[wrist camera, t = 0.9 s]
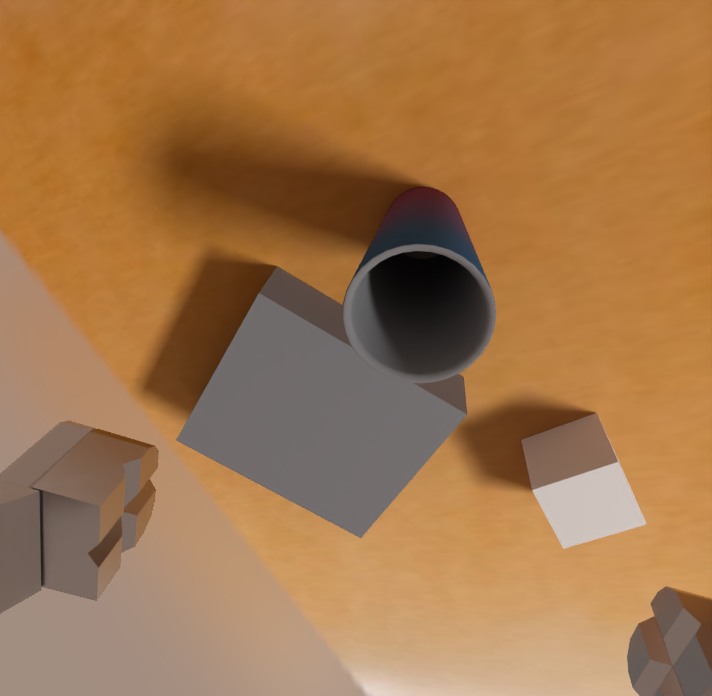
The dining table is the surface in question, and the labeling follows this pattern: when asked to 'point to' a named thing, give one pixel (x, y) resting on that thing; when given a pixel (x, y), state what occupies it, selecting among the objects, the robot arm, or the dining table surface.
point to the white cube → (580, 482)
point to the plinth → (317, 410)
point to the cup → (420, 293)
